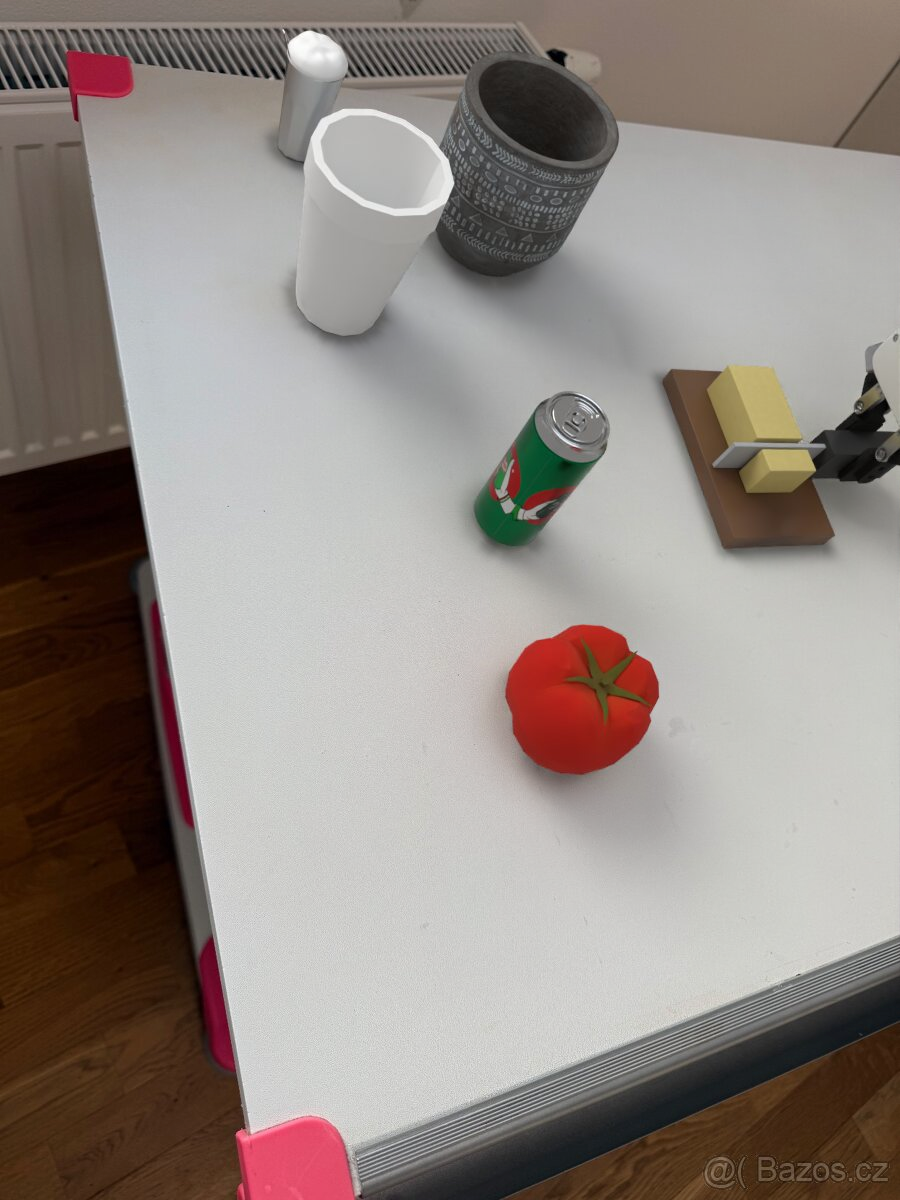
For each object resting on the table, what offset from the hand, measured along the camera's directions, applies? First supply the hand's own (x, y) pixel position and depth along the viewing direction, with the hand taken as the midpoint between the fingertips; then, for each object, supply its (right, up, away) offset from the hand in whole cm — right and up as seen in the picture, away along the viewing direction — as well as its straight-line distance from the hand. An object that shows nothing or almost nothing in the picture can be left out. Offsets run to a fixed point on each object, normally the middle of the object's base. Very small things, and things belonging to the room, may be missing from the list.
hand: (845, 461), depth 80 cm
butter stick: (-9, +3, -1) cm, 9 cm away
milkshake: (-46, +25, -2) cm, 52 cm away
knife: (-4, -1, -1) cm, 4 cm away
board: (-9, 0, -1) cm, 9 cm away
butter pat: (-8, -2, -3) cm, 9 cm away
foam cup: (-41, +11, -8) cm, 43 cm away
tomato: (-26, -19, -17) cm, 37 cm away
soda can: (-29, -6, -11) cm, 32 cm away
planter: (-30, +19, +1) cm, 36 cm away
